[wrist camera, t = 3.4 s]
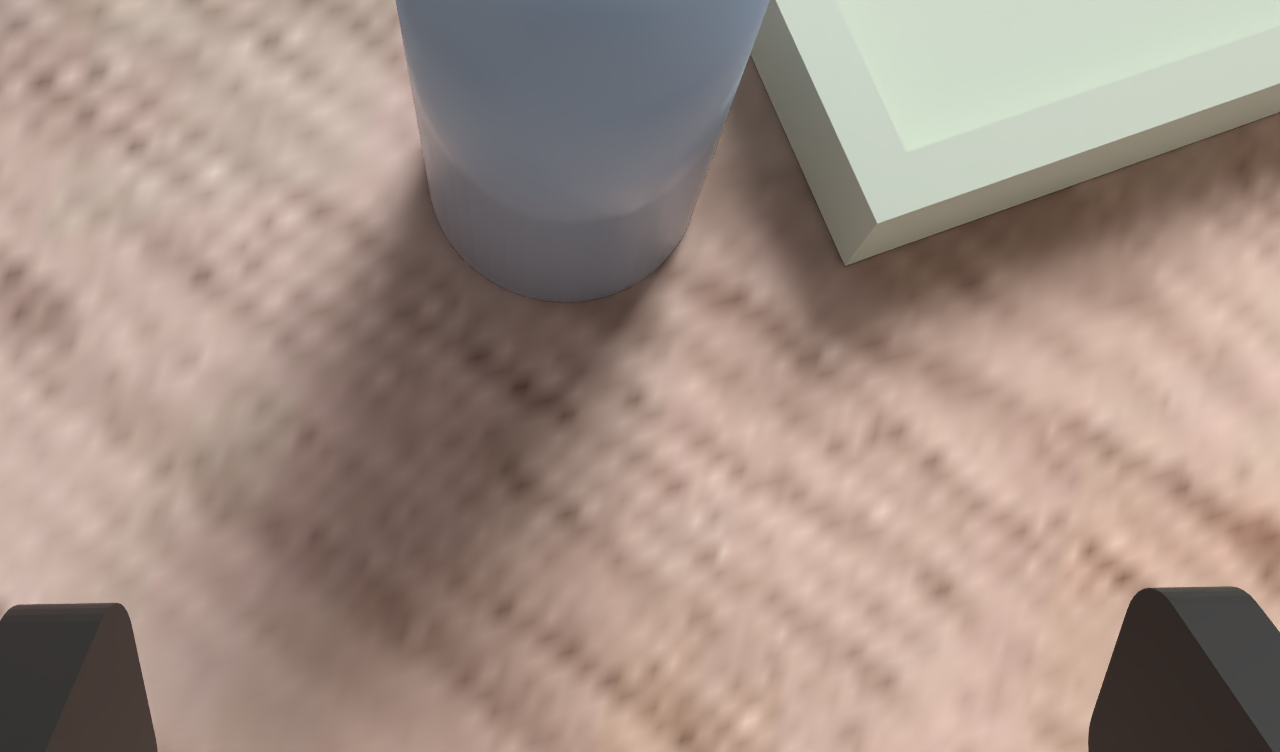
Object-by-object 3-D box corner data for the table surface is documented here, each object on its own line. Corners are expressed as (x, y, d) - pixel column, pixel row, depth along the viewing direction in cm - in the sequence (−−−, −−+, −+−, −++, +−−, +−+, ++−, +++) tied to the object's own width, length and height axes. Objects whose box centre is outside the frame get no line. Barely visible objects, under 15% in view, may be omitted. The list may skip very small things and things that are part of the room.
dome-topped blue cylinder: (482, 339, 25) (456, 87, 15) (391, 98, 27) (307, -297, 16) (737, 251, 26) (883, -44, 16) (639, 23, 28) (714, -395, 17)
